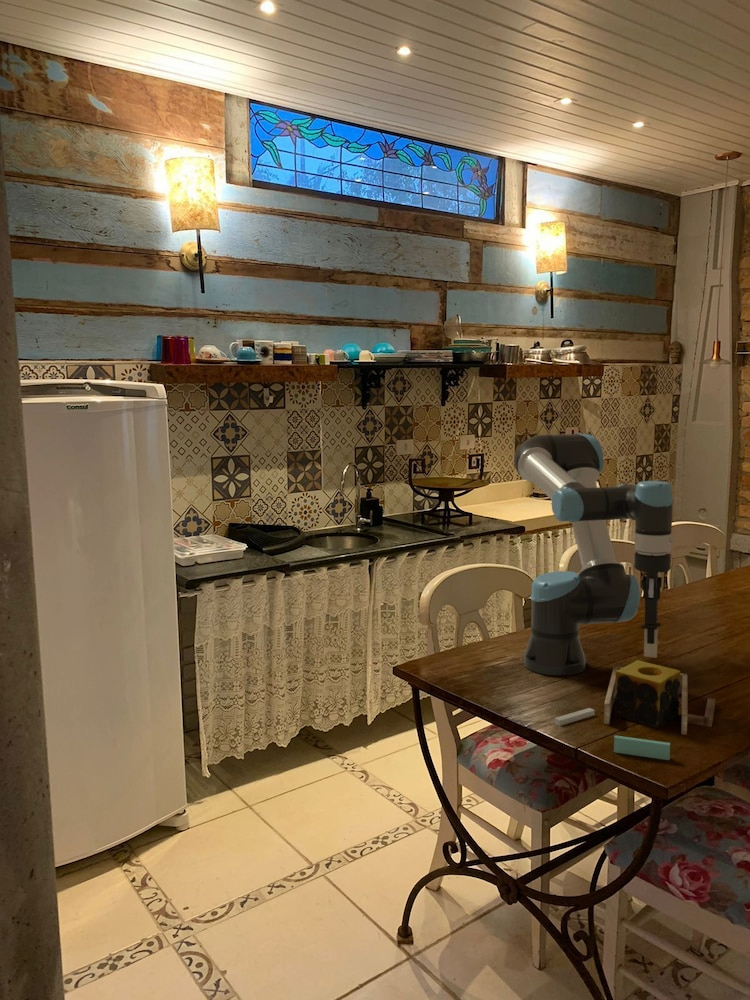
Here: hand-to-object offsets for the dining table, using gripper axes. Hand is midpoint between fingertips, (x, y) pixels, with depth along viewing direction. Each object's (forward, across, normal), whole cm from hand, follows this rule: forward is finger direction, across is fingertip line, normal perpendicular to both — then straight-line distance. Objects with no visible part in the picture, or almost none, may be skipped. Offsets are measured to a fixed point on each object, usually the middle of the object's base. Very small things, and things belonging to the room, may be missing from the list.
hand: (650, 655), depth 174 cm
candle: (+10, -10, 0) cm, 14 cm away
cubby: (+10, -6, 0) cm, 11 cm away
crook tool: (+10, -5, -11) cm, 16 cm away
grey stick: (+10, -16, +14) cm, 24 cm away
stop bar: (+10, -29, 0) cm, 31 cm away
